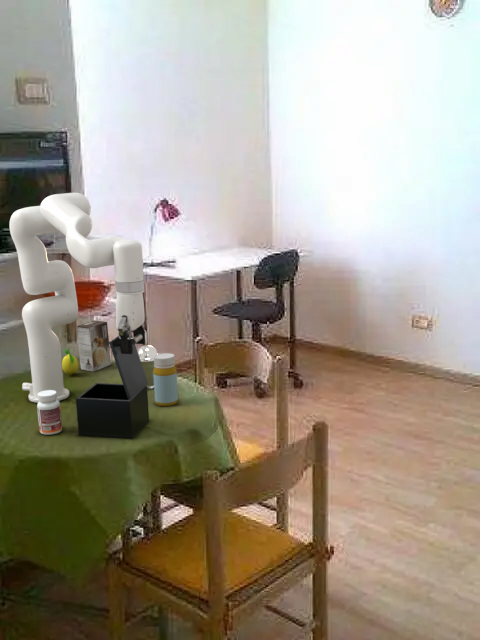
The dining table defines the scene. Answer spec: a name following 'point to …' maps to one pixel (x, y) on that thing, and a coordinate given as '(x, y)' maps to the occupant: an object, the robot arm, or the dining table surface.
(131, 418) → the waste bin
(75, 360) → the lemon
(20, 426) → the dining table surface
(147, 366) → the cup with straw
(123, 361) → the bin lid
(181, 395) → the dining table surface
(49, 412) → the pill bottle
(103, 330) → the coffee box
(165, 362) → the bottle
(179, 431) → the dining table surface
